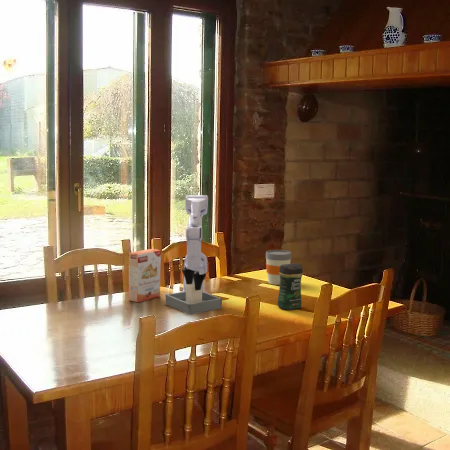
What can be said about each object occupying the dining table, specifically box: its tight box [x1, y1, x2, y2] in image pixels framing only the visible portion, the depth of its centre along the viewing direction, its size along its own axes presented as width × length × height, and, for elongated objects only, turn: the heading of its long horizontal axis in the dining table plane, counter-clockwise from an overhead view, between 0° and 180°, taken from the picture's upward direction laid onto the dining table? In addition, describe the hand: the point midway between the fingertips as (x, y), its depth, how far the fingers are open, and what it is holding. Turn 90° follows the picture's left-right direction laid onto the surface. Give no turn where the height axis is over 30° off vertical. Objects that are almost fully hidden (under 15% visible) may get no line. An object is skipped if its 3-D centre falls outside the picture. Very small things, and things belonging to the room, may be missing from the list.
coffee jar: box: [277, 263, 304, 311], centre depth 248 cm, size 10×8×19 cm
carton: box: [186, 284, 202, 304], centre depth 249 cm, size 5×5×8 cm
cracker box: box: [128, 248, 162, 304], centre depth 258 cm, size 14×6×21 cm, turn 143°
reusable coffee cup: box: [265, 249, 293, 286], centre depth 291 cm, size 12×13×15 cm
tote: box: [165, 291, 223, 315], centre depth 249 cm, size 18×16×4 cm
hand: (193, 287), depth 248 cm, fingers open, 7 cm apart
